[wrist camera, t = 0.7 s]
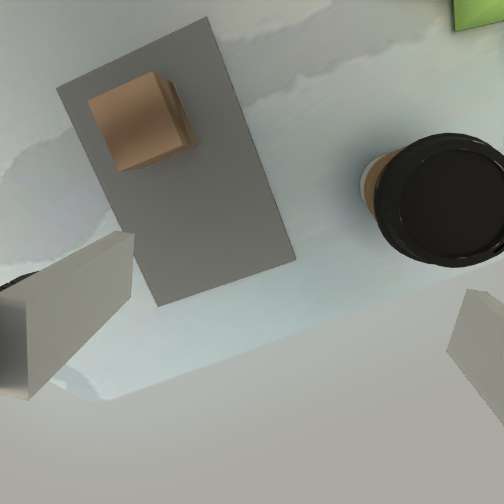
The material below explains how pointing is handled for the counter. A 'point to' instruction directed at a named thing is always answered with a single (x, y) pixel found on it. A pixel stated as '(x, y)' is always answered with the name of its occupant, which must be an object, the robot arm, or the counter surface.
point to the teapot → (477, 13)
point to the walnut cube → (143, 122)
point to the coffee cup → (439, 199)
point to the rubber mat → (187, 174)
